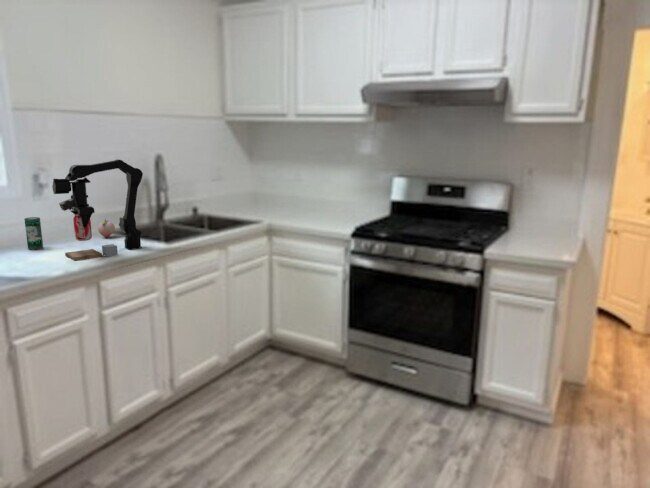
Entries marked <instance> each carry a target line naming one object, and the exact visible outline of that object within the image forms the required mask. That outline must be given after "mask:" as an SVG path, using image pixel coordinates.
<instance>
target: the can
mask: <svg viewBox="0 0 650 488" xmlns="http://www.w3.org/2000/svg"><path fill="white" fill-rule="evenodd" d="M24 226H25V236H26V242H27V249H29V251H39V250H42V249H44V244H43V242H44V241H43V234H42V232H43V231H42V225H41V217H37V216H35V217H34V216H31V217H26V218H24Z"/></svg>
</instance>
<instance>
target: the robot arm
mask: <svg viewBox="0 0 650 488" xmlns="http://www.w3.org/2000/svg"><path fill="white" fill-rule="evenodd" d="M117 169H118V170H119V171H121V172H122V173H124V174H125V176H126V178H125V179H126V182H127V192H126V200H125V208H124V214H123V216H122V217H119V223H118V226H119V230H120V231H122V233H124V235H125V236H124V237H125V238H124V241H123V242H124V248H125V249H128V250H137V249H143V246H142V245H141V243H142V242H141V241H142V240H141V235H142V232H141V231H140V230H139V229H138V228H137V221H136V218H135V213H136V204H137V196H138V188H139V186H140V184H141V182H142V180H143V174H144V173H143V171H142V169H140V168H137V167H133V166H132V165H130V164H128V163H127V162H125V161H124V160H122V159H119V158H118V159H117V158H116V159H114V160H109V161H103V162H99V163H98V162H97V163H93V164H73V165H71V166H70V167H69V169H68V171H69V172H68V173H67V175H66V176H65V178H53V179H52V185H51V186H52V192H53V195H66V194H67V195H68V194H70V192H71V191H72V194H71V195H70V198H69V199H66V200H63V201H61V202H59V203H58V205H59V207H60V209H61V210H62V211H64V212H65V211H67V210H68V211H70V212H71V213H72V214H73V215H74V216H75V214H78V215H79V216H80V217H81V220H82V224H83V227H84V228H86V227H87V224H88V222H89V220H90V221H91V217H92V215H93V214H95V208H94V207H93V206H90V204H89V203H88V198H89V195H88V194H87V184H89V183H91V180H90V179H88V178H87V177H88V176H90V175H92V174H95V173H100V172H105V171H111V170H117Z"/></svg>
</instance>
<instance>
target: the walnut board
mask: <svg viewBox="0 0 650 488" xmlns="http://www.w3.org/2000/svg"><path fill="white" fill-rule="evenodd" d="M64 254H65V257H67V258H69V259H70V260H72V261H75V262H76V261H82V260H83V261H84V260H87V259H96V258H101V257H103V253H102V252H100V251H98V250H96V249H93V248H90V249H89V248H88V249H81V250H76V251H74V250H73V251H67V252H65V253H64Z"/></svg>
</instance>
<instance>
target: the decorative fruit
mask: <svg viewBox="0 0 650 488" xmlns="http://www.w3.org/2000/svg"><path fill="white" fill-rule="evenodd" d="M97 230H98V233H99V234H100V235H101V236H103V237H105V238H108V237H110V236H111V235H112V234H114V233H115V230H116V227H115V225H114V223H113V222H112V221H109V220H106V218H105V219H104V221H102V222H100V224H98V227H97Z"/></svg>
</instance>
